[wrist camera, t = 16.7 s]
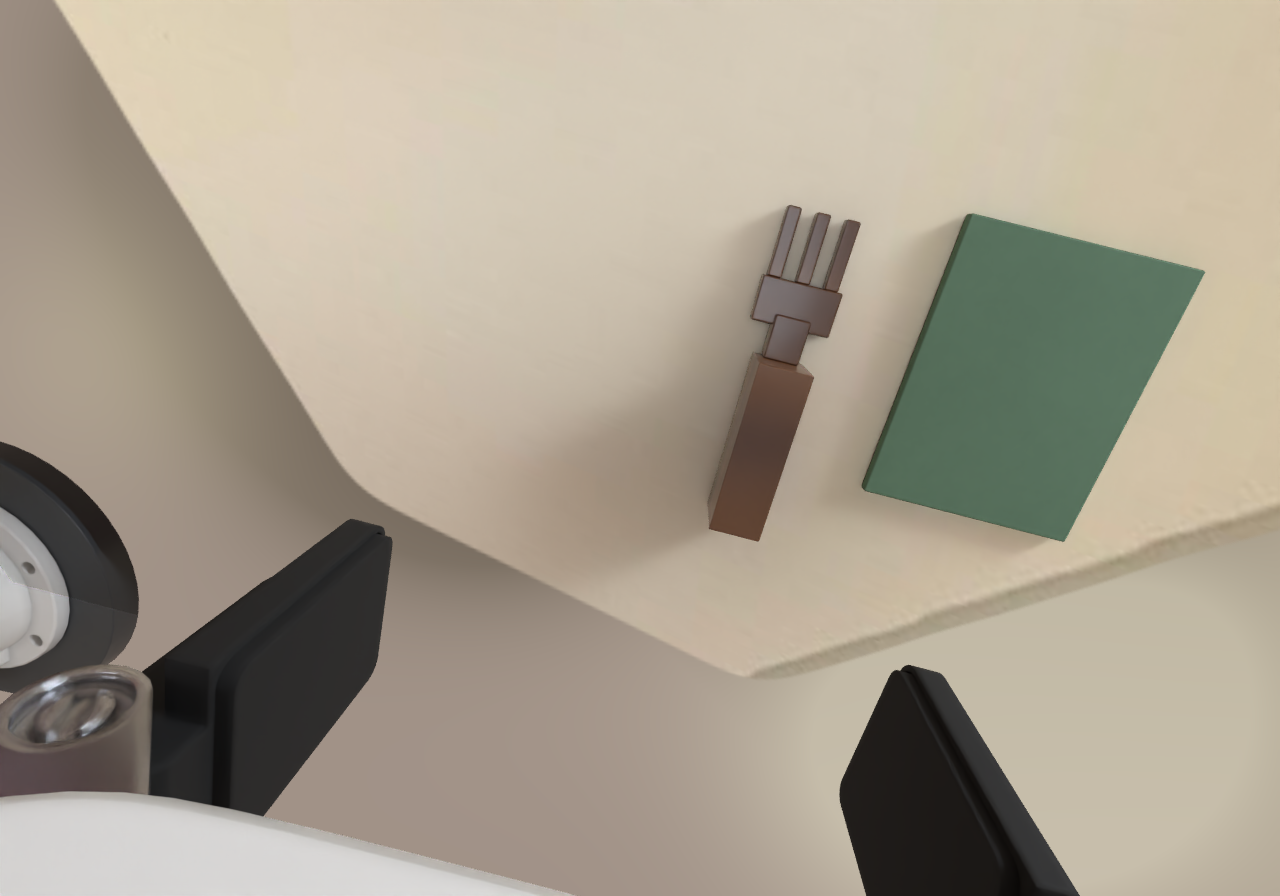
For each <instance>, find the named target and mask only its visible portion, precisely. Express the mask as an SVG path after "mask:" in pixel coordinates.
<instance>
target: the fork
mask: <svg viewBox="0 0 1280 896" xmlns="http://www.w3.org/2000/svg"><path fill="white" fill-rule="evenodd" d="M801 210H802V209H801V208H800V207H796V206H792V205H789V206H787V208H786V211H785V214H784V218H783V221H782V225H781V228H780V231H779V235H778V238H777V242H776V245H775V248H774V252H773V255H772V258H771V262H770V265H769V269H768V272H767V275H765V274H763V275H762V277H761V280H760V284H759V287H758V291H757V294H756V297H755V301H754V304H753V308H752V311H751V315H750V317H751V318H752V319H754V320H758V321H762V322H766V323H770V326H769V330H768V333H767V336H766V340H765V343H764V346H763V349H762V354H759V353H755V352H753V353H752V356H751V360H750V363H749V366H748V370H747V373H746V376H745V380H744V383H743V386H742V390H741V393H740V396H739V400H738V403H737V406H736V410H735V413H734V416H733V420H732V423H731V426H730V430H729V433H728V436H727V440H726V443H725V447H724V450H723V453H722V457H721V460H720V463H719V467H718V470H717V473H716V477H715V480H714V483H713V487H712V490H711V493H710V497H709V500H708V517H709V529H711V530H715V531H719V532H723V533H727V534H731V535H735V536H738V537H742V538H746V539H750V540H754V541H759V540H760V537H761V534H762V531H763V528H764V525H765V522H766V519H767V516H768V513H769V510H770V507H771V504H772V501H773V498H774V495H775V492H776V489H777V486H778V483H779V480H780V477H781V474H782V471H783V468H784V465H785V462H786V459H787V456H788V454H789V451H790V448H791V445H792V442H793V439H794V436H795V433H796V430H797V427H798V424H799V421H800V418H801V415H802V412H803V409H804V406H805V403H806V400H807V397H808V394H809V391H810V388H811V385H812V382H813V379H814V376H813V375H812V374H811V373H810V372H809V371H808V370H807V369H806V368H805V367H804V366H803V365H802V364H798V363H799V360H800V357H801V354H802V351H803V348H804V345H805V342H806V339H807V336H808V333H809V334H813V335H817V336H821V337H825V338H828V337H829V334H830V331H831V328H832V325H833V322H834V319H835V316H836V313H837V310H838V307H839V304H840V301H841V298H842V294H841V293H837V292H838V290H839V287H840V284H841V281H842V278H843V275H844V272H845V269H846V266H847V263H848V260H849V257H850V254H851V251H852V248H853V245H854V242H855V239H856V236H857V233H858V230H859V227H860V222H856V221H852V220H845V221H844V224H843V227H842V230H841V233H840V236H839V239H838V242H837V246H836V249H835V252H834V255H833V258H832V261H831V264H830V267H829V270H828V273H827V276H826V279H825V282H824V285H823V289H821V288H817V287H813V286H809V284H810V281H811V278H812V275H813V272H814V269H815V266H816V262H817V259H818V256H819V253H820V250H821V247H822V244H823V240H824V237H825V234H826V231H827V228H828V225H829V222H830V218H831V215H828V214H824V213H820V212H819V213H816V214H815V217H814V221H813V224H812V227H811V230H810V234H809V237H808V240H807V243H806V247H805V250H804V253H803V256H802V259H801V263H800V266H799V269H798V272H797V276H796V279H795V282H793V281H789V280H785V279H781V276H782V273H783V270H784V266H785V263H786V260H787V256H788V253H789V250H790V246H791V243H792V240H793V237H794V233H795V230H796V227H797V223H798V220H799V217H800V213H801Z"/></svg>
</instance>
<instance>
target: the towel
mask: <svg viewBox="0 0 1280 896" xmlns="http://www.w3.org/2000/svg"><path fill="white" fill-rule="evenodd" d="M1204 274H1205V271H1203V270H1199V269H1195V268H1191V267H1187V266H1183V265H1179V264H1175V263H1171V262H1167V261H1163V260H1158V259H1154V258H1150V257H1146V256H1142V255H1138V254H1134V253H1130V252H1126V251H1122V250H1118V249H1114V248H1110V247H1106V246H1102V245H1098V244H1094V243H1090V242H1086V241H1082V240H1078V239H1074V238H1070V237H1066V236H1062V235H1058V234H1054V233H1050V232H1046V231H1041V230H1037V229H1033V228H1029V227H1025V226H1021V225H1017V224H1013V223H1009V222H1005V221H1001V220H997V219H993V218H989V217H985V216H981V215H977V214H968V215H967V216H966V218H965V221H964V223H963V226H962V228H961V231H960V233H959V236H958V239H957V241H956V244H955V246H954V249H953V252H952V254H951V257H950V259H949V262H948V264H947V267H946V270H945V272H944V275H943V277H942V280H941V283H940V285H939V288H938V290H937V293H936V295H935V298H934V301H933V303H932V306H931V308H930V311H929V314H928V316H927V319H926V321H925V324H924V326H923V329H922V332H921V334H920V337H919V339H918V342H917V345H916V347H915V350H914V352H913V355H912V357H911V360H910V363H909V365H908V368H907V370H906V373H905V376H904V378H903V381H902V383H901V386H900V388H899V391H898V394H897V396H896V399H895V401H894V404H893V407H892V409H891V412H890V414H889V417H888V420H887V422H886V425H885V427H884V430H883V432H882V435H881V438H880V440H879V443H878V445H877V448H876V451H875V453H874V456H873V458H872V461H871V463H870V466H869V469H868V471H867V474H866V476H865V479H864V482H863V484H862V488H863V489H864V490H865V491H868V492H872V493H876V494H880V495H883V496H887V497H891V498H895V499H899V500H903V501H907V502H911V503H915V504H918V505H922V506H926V507H930V508H934V509H938V510H942V511H946V512H950V513H953V514H957V515H961V516H965V517H969V518H973V519H977V520H981V521H985V522H988V523H992V524H996V525H1000V526H1004V527H1008V528H1012V529H1016V530H1020V531H1023V532H1027V533H1031V534H1035V535H1039V536H1043V537H1047V538H1051V539H1055V540H1058V541H1062V542H1064V541H1065V539H1066V538H1067V536H1068V534H1069V532H1070V530H1071V528H1072V526H1073V524H1074V522H1075V520H1076V518H1077V517H1078V515H1079V513H1080V511H1081V509H1082V507H1083V505H1084V503H1085V501H1086V499H1087V497H1088V495H1089V494H1090V492H1091V490H1092V488H1093V486H1094V484H1095V482H1096V480H1097V478H1098V476H1099V474H1100V473H1101V471H1102V469H1103V467H1104V465H1105V463H1106V461H1107V459H1108V457H1109V455H1110V453H1111V451H1112V450H1113V448H1114V446H1115V444H1116V442H1117V440H1118V438H1119V436H1120V434H1121V432H1122V430H1123V429H1124V427H1125V425H1126V423H1127V421H1128V419H1129V417H1130V415H1131V413H1132V411H1133V409H1134V408H1135V406H1136V404H1137V402H1138V400H1139V398H1140V396H1141V394H1142V392H1143V390H1144V388H1145V386H1146V385H1147V383H1148V381H1149V379H1150V377H1151V375H1152V373H1153V371H1154V369H1155V367H1156V365H1157V364H1158V362H1159V360H1160V358H1161V356H1162V354H1163V352H1164V350H1165V348H1166V346H1167V344H1168V342H1169V341H1170V339H1171V337H1172V335H1173V333H1174V331H1175V329H1176V327H1177V325H1178V323H1179V321H1180V320H1181V318H1182V316H1183V314H1184V312H1185V310H1186V308H1187V306H1188V304H1189V302H1190V300H1191V299H1192V297H1193V295H1194V293H1195V291H1196V289H1197V287H1198V285H1199V283H1200V281H1201V279H1202V277H1203V276H1204Z"/></svg>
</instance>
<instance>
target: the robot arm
mask: <svg viewBox="0 0 1280 896" xmlns="http://www.w3.org/2000/svg"><path fill="white" fill-rule="evenodd" d="M391 551H392V539H391V537H387V536H385V531H384V528H383V527H381V526H378V525H374V524H370V523H366V522H362V521H359V520H355V519H350V520H348V521H346V522H345V523H343V524H342V525H341V526H339V527H338V528H337V529H335V530H334V531H333V532H331V533H330V534H329V535H327V536H326V537H325V538H323V539H322V540H321V541H320V542H318V543H317V544H315V545H314V546H313V547H312V548H310V549H309V550H307V551H306V552H305V553H303V554H302V555H301V556H299V557H298V558H297V559H296V560H294V561H293V562H291V563H290V564H289V565H287V566H286V567H285V568H283V569H282V570H281V571H279V572H278V573H277V574H275V575H274V576H273V577H271V578H269V579H267V580H265V581H263V582H262V583H260V584H259V585H258V586H256V587H255V588H254V589H252V590H251V591H250V592H248V593H247V594H246V595H245V596H243V597H242V598H240V599H239V600H238V601H236V602H235V603H234V604H232V605H231V606H230V607H228V608H227V609H226V610H224V611H223V612H222V613H220V614H219V615H218V616H216V617H215V618H214V619H212V620H211V621H210V622H208V623H207V624H205V625H204V626H203V627H202V628H200V629H199V630H197V631H196V632H195V633H193V634H192V635H191V636H189V637H188V638H187V639H185V640H184V641H183V642H181V643H180V644H179V645H177V646H176V647H175V648H173V649H172V650H171V651H169V652H168V653H167V654H165V655H164V656H163V657H161V658H160V659H159V660H157V661H156V662H155V663H153V664H152V665H151V666H149V667H148V668H146V669H145V670H144V671H142V672H141V671H138V670H136V669H133V668H130V667H127V666H119V665H109V664H103V665H91V666H82V667H78V668H73V669H69V670H65V671H61V672H57V673H55V674H52V675H49V676H47V677H44V678H42V679H39V680H36V681H34V682H32V683H31V684H29V685H27V686H25V687H24V688H22V689H20V690H18V691H17V692H15V693H13V694H12V695H11V696H10V697H9V698H7V699H6V700H5V701H4V702H3V703H2V704H1V705H0V896H576V895H573V894H568V893H565V892H561V891H557V890H554V889H549V888H546V887H542V886H538V885H534V884H531V883H527V882H522V881H519V880H515V879H511V878H507V877H503V876H499V875H495V874H491V873H488V872H484V871H480V870H476V869H472V868H468V867H464V866H461V865H457V864H453V863H449V862H445V861H441V860H437V859H433V858H429V857H425V856H422V855H418V854H414V853H410V852H406V851H402V850H398V849H394V848H390V847H386V846H382V845H379V844H375V843H371V842H367V841H363V840H359V839H355V838H351V837H347V836H343V835H339V834H335V833H330V832H326V831H322V830H318V829H314V828H309V827H305V826H301V825H297V824H292V823H288V822H284V821H280V820H275V819H271V818H267V817H263V816H264V815H265V813H266V812H267V811H268V809H269V808H270V807H271V806H272V804H273V803H274V802H275V800H276V799H277V798H278V797H279V795H280V794H281V793H282V791H283V790H284V789H285V787H286V786H287V785H288V784H289V782H290V781H291V780H292V778H293V777H294V776H295V775H296V773H297V772H298V771H299V769H300V768H301V767H302V765H303V764H304V763H305V761H306V760H307V759H308V758H309V756H310V755H311V754H312V752H313V751H314V750H315V748H316V747H317V746H318V745H319V743H320V742H321V741H322V739H323V738H324V737H325V736H326V734H327V733H328V731H329V730H330V729H331V728H332V726H333V725H334V724H335V723H336V721H337V720H338V719H339V717H340V716H341V715H342V714H343V712H344V711H345V710H346V708H347V707H348V706H349V704H350V703H351V702H352V701H353V699H354V698H355V697H356V695H357V694H358V693H359V691H360V690H361V689H362V688H363V686H364V685H365V683H366V682H367V681H368V680H369V678H370V677H371V675H372V673H373V671H374V668H375V666H376V662H377V658H378V651H379V644H380V636H381V629H382V621H383V614H384V605H385V598H386V591H387V583H388V575H389V567H390V559H391ZM69 613H70V606H69V594H68V591H67V587H66V584H65V580H64V577H63V575H62V573H61V571H60V569H59V567H58V565H57V563H56V561H55V560H54V558H53V557H52V555H51V554H50V552H49V551H48V549H47V548H46V546H45V545H44V544H43V543H42V542H41V541H40V539H39V538H38V537H37V536H36V535H35V534H34V533H33V532H32V531H31V530H30V529H29V528H28V527H27V526H26V525H25V524H23V523H22V522H21V521H20V520H19V519H18V518H16V517H15V516H13V515H12V514H10V513H9V512H7V511H6V510H4V509H3V508H1V507H0V668H13V667H17V666H22V665H25V664H27V663H29V662H31V661H33V660H35V659H37V658H39V657H40V656H42V655H44V654H45V653H47V652H48V651H50V650H51V649H52V648H54V647H55V646H56V645H57V643H58V642H59V641H60V640H61V639H62V637H63V635H64V633H65V630H66V628H67V626H68V620H69ZM840 803H841V807H842V811H843V815H844V818H845V821H846V825H847V829H848V832H849V836H850V839H851V843H852V847H853V850H854V853H855V857H856V861H857V864H858V868H859V871H860V875H861V878H862V882H863V886H864V889H865V892H866V896H1080V895H1079V894H1078V892H1077V891H1076V889H1075V887H1074V886H1073V884H1072V882H1071V881H1070V879H1069V878H1068V876H1067V875H1066V873H1065V871H1064V870H1063V868H1062V866H1061V865H1060V863H1059V861H1058V860H1057V858H1056V857H1055V855H1054V853H1053V852H1052V850H1051V849H1050V847H1049V845H1048V844H1047V842H1046V841H1045V839H1044V837H1043V836H1042V834H1041V833H1040V831H1039V829H1038V828H1037V826H1036V824H1035V823H1034V821H1033V819H1032V818H1031V816H1030V815H1029V813H1028V811H1027V810H1026V808H1025V807H1024V805H1023V803H1022V802H1021V800H1020V799H1019V797H1018V795H1017V794H1016V792H1015V791H1014V789H1013V787H1012V786H1011V784H1010V783H1009V781H1008V779H1007V778H1006V776H1005V774H1004V773H1003V771H1002V769H1001V768H1000V767H999V765H998V763H997V761H996V760H995V758H994V757H993V755H992V753H991V752H990V750H989V748H988V747H987V745H986V744H985V742H984V741H983V739H982V737H981V736H980V734H979V732H978V731H977V729H976V728H975V726H974V724H973V723H972V721H971V719H970V718H969V716H968V715H967V713H966V711H965V710H964V708H963V707H962V705H961V703H960V702H959V700H958V698H957V697H956V695H955V694H954V692H953V690H952V689H951V687H950V686H949V684H948V682H947V681H946V679H945V678H944V676H943V675H942V674H940V673H938V672H934V671H930V670H927V669H923V668H919V667H915V666H911V665H906V666H904V667H903V668H902V669H901V671H898V670H895V671H893V672H892V673H891V675H890V677H889V678H888V681H887V683H886V685H885V687H884V689H883V692H882V694H881V696H880V698H879V700H878V703H877V705H876V707H875V709H874V711H873V714H872V715H871V718H870V720H869V722H868V724H867V726H866V729H865V731H864V733H863V735H862V737H861V739H860V742H859V744H858V746H857V748H856V750H855V752H854V755H853V757H852V759H851V761H850V763H849V765H848V768H847V770H846V772H845V774H844V776H843V779H842V781H841V785H840Z"/></svg>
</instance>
